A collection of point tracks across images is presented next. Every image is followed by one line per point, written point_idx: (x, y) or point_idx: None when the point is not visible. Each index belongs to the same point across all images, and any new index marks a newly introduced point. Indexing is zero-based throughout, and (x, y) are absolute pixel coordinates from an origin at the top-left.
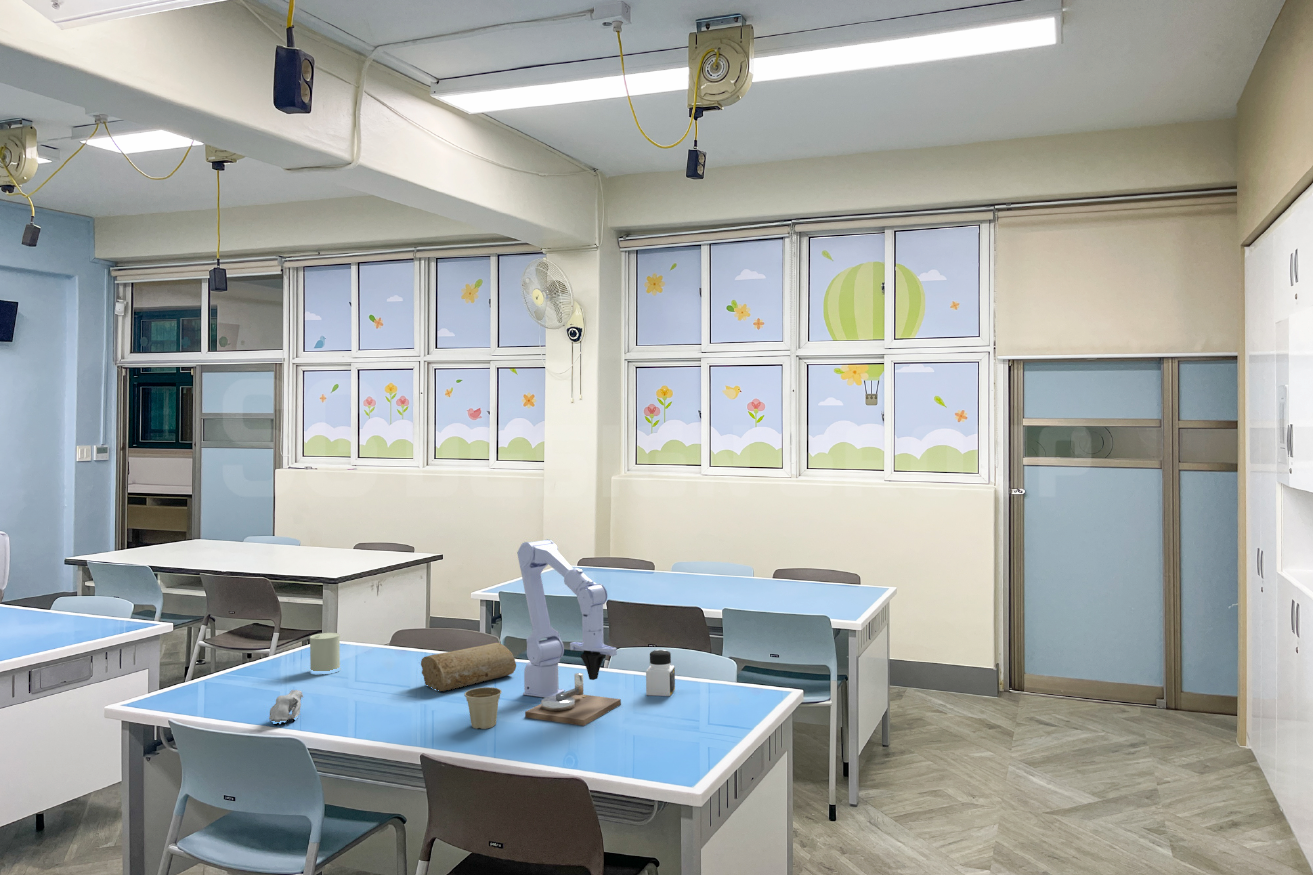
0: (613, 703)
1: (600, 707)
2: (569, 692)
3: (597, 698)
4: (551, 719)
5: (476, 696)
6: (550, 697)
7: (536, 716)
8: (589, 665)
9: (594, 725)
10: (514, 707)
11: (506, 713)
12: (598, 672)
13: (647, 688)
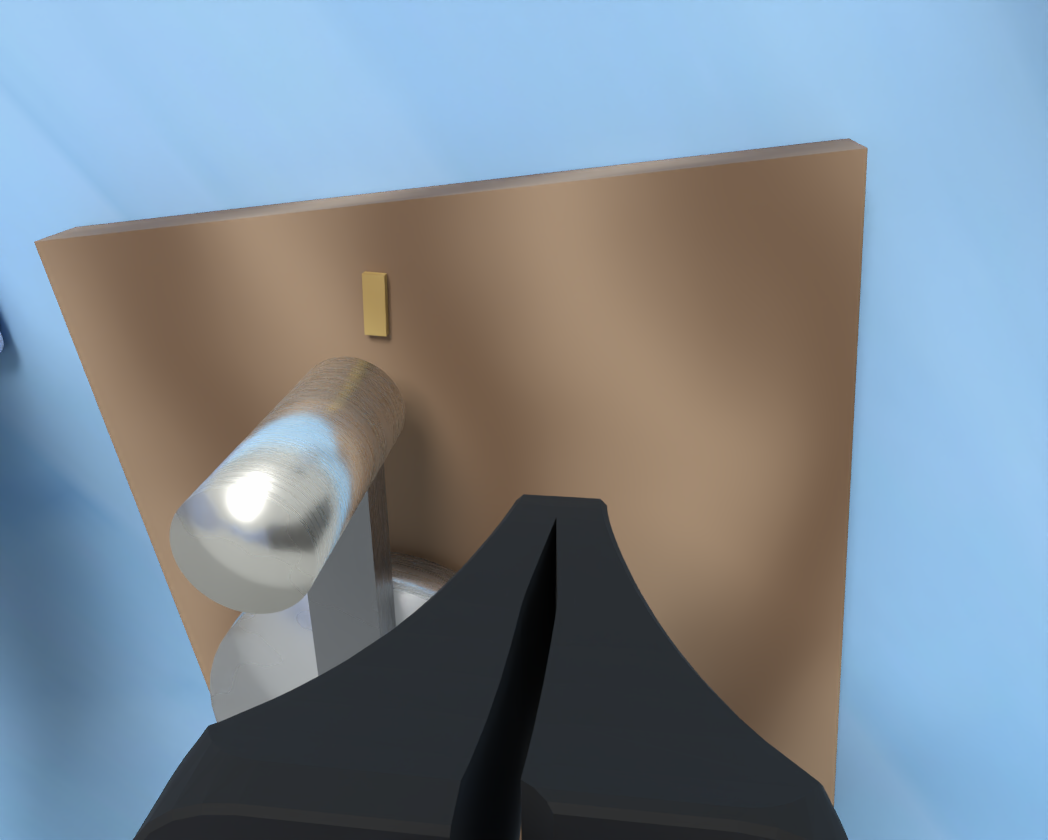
0: (856, 352)
1: (786, 539)
2: (371, 633)
3: (552, 276)
4: None
5: None
6: (242, 681)
7: None
8: (519, 836)
9: (902, 775)
10: (17, 659)
11: (105, 774)
12: (616, 548)
13: None
